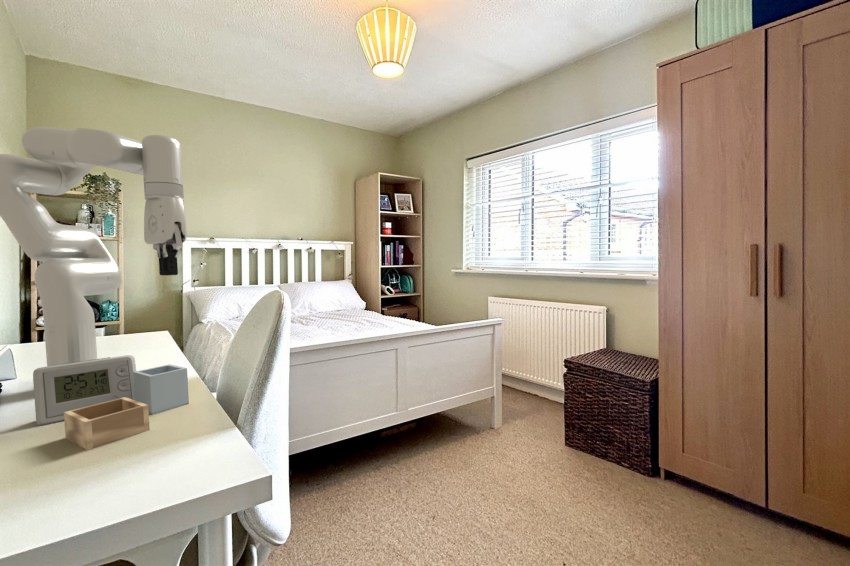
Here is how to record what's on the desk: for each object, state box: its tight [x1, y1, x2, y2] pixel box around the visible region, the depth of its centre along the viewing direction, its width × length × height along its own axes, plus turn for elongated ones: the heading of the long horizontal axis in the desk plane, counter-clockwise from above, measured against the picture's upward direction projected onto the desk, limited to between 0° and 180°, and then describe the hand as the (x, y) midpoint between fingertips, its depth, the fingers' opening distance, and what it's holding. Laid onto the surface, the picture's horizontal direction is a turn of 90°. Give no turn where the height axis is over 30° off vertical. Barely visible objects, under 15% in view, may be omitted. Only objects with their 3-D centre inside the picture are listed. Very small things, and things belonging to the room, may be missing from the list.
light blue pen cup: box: [133, 364, 190, 415], centre depth 86 cm, size 7×7×8 cm
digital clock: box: [32, 354, 137, 426], centre depth 84 cm, size 16×9×11 cm, turn 122°
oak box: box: [64, 397, 151, 451], centre depth 72 cm, size 9×9×5 cm
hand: (168, 275), depth 96 cm, fingers closed
